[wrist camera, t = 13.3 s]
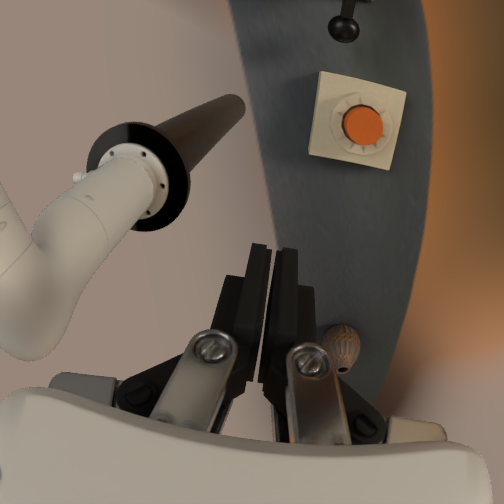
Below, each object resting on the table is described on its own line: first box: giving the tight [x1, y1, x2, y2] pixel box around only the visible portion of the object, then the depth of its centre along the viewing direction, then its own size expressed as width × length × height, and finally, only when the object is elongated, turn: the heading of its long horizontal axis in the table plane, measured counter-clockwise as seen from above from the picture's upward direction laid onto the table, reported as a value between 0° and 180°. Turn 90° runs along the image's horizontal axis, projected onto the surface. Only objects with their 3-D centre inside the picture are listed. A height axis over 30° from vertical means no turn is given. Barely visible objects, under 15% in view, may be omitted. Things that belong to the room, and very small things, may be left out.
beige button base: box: [308, 71, 406, 170], centre depth 29 cm, size 10×10×4 cm
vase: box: [322, 324, 360, 374], centre depth 48 cm, size 7×7×9 cm
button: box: [344, 107, 383, 145], centre depth 27 cm, size 4×4×2 cm
